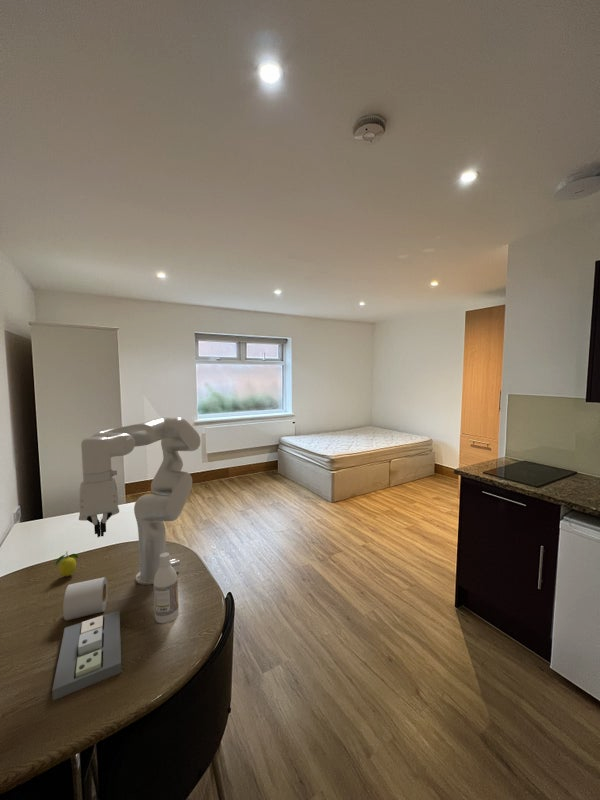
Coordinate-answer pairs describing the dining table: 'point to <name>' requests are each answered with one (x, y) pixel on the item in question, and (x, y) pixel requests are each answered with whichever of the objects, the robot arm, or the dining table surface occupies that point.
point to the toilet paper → (85, 598)
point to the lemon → (67, 565)
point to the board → (69, 654)
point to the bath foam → (165, 591)
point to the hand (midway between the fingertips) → (100, 535)
